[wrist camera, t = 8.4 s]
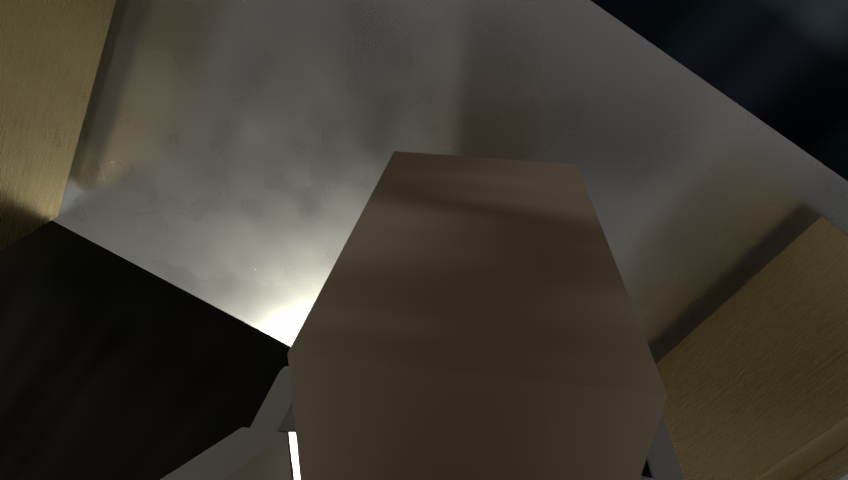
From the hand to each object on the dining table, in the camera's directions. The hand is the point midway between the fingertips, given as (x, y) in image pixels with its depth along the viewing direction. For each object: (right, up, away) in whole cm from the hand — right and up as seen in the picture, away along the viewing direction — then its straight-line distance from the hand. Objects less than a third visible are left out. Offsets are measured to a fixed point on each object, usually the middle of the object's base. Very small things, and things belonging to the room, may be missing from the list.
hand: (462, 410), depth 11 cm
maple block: (0, +2, +3) cm, 4 cm away
